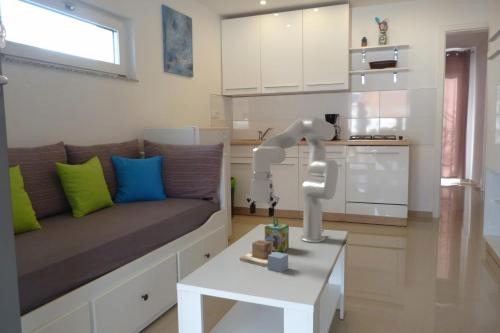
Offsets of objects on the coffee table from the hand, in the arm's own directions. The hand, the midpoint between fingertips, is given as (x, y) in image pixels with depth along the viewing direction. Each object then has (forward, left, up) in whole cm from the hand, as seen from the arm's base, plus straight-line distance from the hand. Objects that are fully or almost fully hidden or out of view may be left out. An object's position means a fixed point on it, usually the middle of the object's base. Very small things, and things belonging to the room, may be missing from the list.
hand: (261, 214), depth 162 cm
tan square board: (0, 0, -20) cm, 20 cm away
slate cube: (+6, +12, -20) cm, 24 cm away
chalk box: (-16, -2, -20) cm, 26 cm away
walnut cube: (0, 0, -18) cm, 18 cm away
